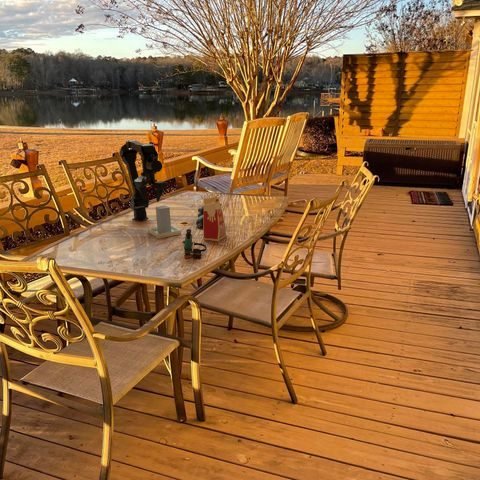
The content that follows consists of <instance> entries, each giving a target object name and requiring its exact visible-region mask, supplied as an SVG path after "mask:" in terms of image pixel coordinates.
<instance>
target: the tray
mask: <svg viewBox="0 0 480 480" xmlns="http://www.w3.org/2000/svg"><path fill="white" fill-rule="evenodd" d="M147 233H148V234H150V235H151V236H153V237H154V238H156V239H163V238H168V237H175V236H179V235H182V230H181V229H180V228H178V227H176V226H174V225H172V224H171V232H166V233H161V234H160V233H158V229H157V226H155V227H150V228H147Z"/></svg>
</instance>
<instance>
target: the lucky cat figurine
mask: <svg viewBox="0 0 480 480" xmlns="http://www.w3.org/2000/svg"><path fill="white" fill-rule="evenodd" d="M220 205H221V206H222V203H221V202H220ZM203 215H204V204H203V205H202V206H201V207H199V208H197V217H198V218H197V219H196V221H195V225H196V227H197V228H200V227H203Z"/></svg>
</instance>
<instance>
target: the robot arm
mask: <svg viewBox="0 0 480 480" xmlns="http://www.w3.org/2000/svg"><path fill="white" fill-rule="evenodd" d="M118 153H119V157H120V159H121V162H122V163H123V164H124V165H125V166H126V169H127V173H128V176H129V177H128V178H129V181H130V185H131V189H132V194H131V200H130V204H129V207H130V210H132V211H133V218H132V219H131V220H132V221H138V222H143V221H145V220H148V219H149V217H148V216H147V209H148V208H149V205H150V204H149V203H150V200H149V197H148V195H147V189H148V188H147V186H150V187H153V191H154V192H155V199H156V203H157V202H160V199H161V198H162V197H161V196H162V194H163V192H164V191H165V189H166V188H168V183H167V181H162V180H160V181H158V179H156V176H155V175H156V174H157V173H159V172H161V171H162V170H163V164H162V162H161V161H160V160H159V153H158V151H157V150H156V147H155V145H154V144H153V143H142V142H140V141H137V140H136V139H130V140H129V139H128V140H126V141H125V144H123V145H122V146H121V147H120V149H119V151H118ZM137 154H138V155H139V156H140V161H141V165H142V166H141V167H142V168H141V169H142V172H140V176H139V174H138V173H139V171H138V169H137V165H136V161H137V159H138V157H137Z"/></svg>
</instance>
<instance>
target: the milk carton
mask: <svg viewBox="0 0 480 480" xmlns="http://www.w3.org/2000/svg"><path fill="white" fill-rule="evenodd" d="M202 200H203V205H204V215H203V226H202V229H203V230H202V231H203V236H202V237H203V240H204V241H205V240H206V241H215V242H219V241H221V240H222V239H224V238H225V237H226V236H227V229H226V222H225V217H224V213H223V210H222V204H221V205H220V203H221V201H220V199H219V198H218V195H215V196H214V195H213V196H212V197H206V198H205V197H204V198H202Z"/></svg>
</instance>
